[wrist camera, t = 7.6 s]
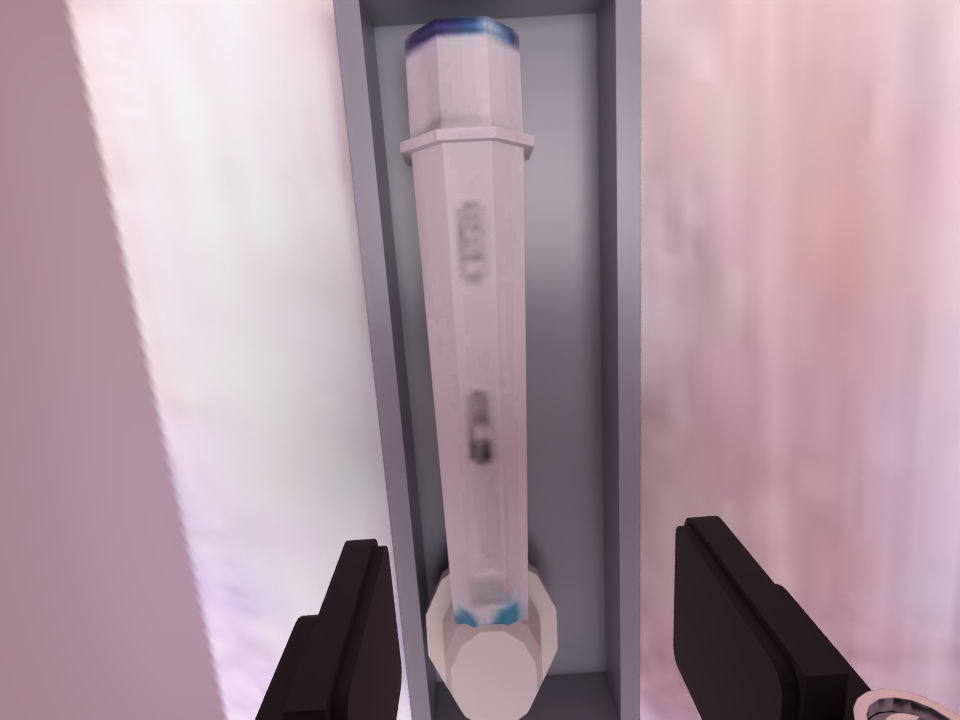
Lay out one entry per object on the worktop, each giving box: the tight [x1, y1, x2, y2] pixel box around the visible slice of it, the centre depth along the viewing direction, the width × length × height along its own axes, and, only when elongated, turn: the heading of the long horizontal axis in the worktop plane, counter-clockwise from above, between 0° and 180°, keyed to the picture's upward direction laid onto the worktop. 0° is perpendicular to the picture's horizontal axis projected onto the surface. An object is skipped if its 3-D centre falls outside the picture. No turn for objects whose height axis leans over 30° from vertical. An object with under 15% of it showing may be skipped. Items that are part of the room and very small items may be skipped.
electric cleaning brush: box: [400, 16, 558, 720], centre depth 22 cm, size 5×7×25 cm
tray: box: [333, 0, 641, 720], centre depth 23 cm, size 30×10×4 cm, turn 4°
